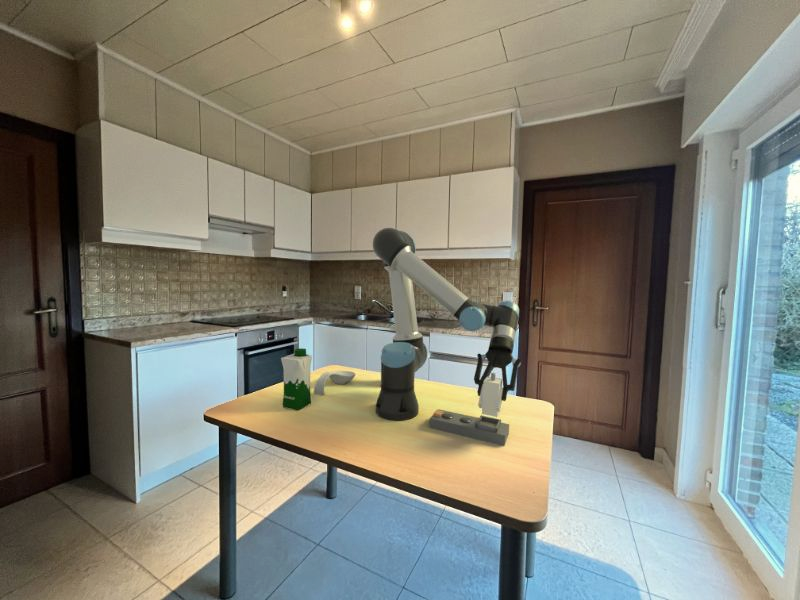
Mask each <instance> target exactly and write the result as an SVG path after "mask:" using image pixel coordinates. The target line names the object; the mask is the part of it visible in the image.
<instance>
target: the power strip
mask: <svg viewBox="0 0 800 600" xmlns="http://www.w3.org/2000/svg"><path fill="white" fill-rule="evenodd" d="M429 428H430V429H434V430H439V431H443V432H447V433H451V434H455V435H459V436H463V437H467V438H473V439H476V440H479V441H483V442H488V443H492V444H496V445H500V446H505V445H506V443H507V439H508V437H509V434H510V423H505V422H502V419H501V418H500V419H499V418H497V417H492V416H491V417H490V416H487V415H486V416H485V415H483V414H481V415H480V416H479V417H476V416H472V415H466V414H463V413H458V412H453V411H449V410H443V409H436V410H435V411H434V412H433V413H432V415H431V417H429Z"/></svg>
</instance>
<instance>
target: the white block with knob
mask: <svg viewBox="0 0 800 600" xmlns="http://www.w3.org/2000/svg"><path fill="white" fill-rule="evenodd" d="M500 387H502V388H503V379H502V378H500V377H499V378H497V377H496V373H495V372H491V373H490V376H489V377H486V379H485V380H484V383H483V402H482V408H481V415H484V416H485V415H486V416H489V417H490V416H491V417H493V418H498V417H499V414H500V412H497V402H498V397H499V392H500Z"/></svg>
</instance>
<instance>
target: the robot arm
mask: <svg viewBox="0 0 800 600" xmlns="http://www.w3.org/2000/svg"><path fill="white" fill-rule="evenodd" d="M410 235H411V234H408V233H407V232H405V231H402V230H398V229H396V228H393V227H385V228H382V229H380V230H378V232H376V234H374V237H373V239H372V249H373V252H374V253H375V255H376V256H377V257H378V258H379V259H380V260H381V261H382V262H383V268H384V269H385V270H386V271H387V272H388V277H389V287H390V295H391V300H392V301H391V302H392V303H391V304H392V311H393V319H394V320H393V321H394V329H395V334H394V336H393V337H392V342H390V343H388V344H386V345H384V346H383V347H382V350H381V354H380V390H379V393H378V397H377V400H376V402H375V410H374V411H375V414H376V415H377V416H379V417H380V418H382V419H385V420H390V421H406V420H410V419H412V418H415V417H416V416H418V415H419V410H420V409H419V408H420V407H419V402H418V399H417V395H416V392H415V373H416V372H417V371H419V369H421V368H422V367H423V366H424V365H425V363H426V361H427V359H428V348H427V346H426V344H425V342H424V336H423V334H422V333H421V332H420V331H419V329H418V328H419V327H418V319H417V310H416V303H415V302H416V301H415V294H414V293H415V291H414V284H415V285H416V286H417V287H419V289H421V290H422V291H423V292H424V293H425V294H427V295H428V296H429V297H431V299H433V300H434V301H435V302H436V303H437V304H439V305H440V306H441V307H442V308H443V309H445V310H446V311H447V312H449V314H450V315H452V317H454V318H455V319H456V320H458V321H459V323H460V326H461V327H462V328H463V329H464V330H466V331H469V332H475V331H479V330H480V329H481V328H483V327H484V326H485V327H489V328H490V327H491V328H492V332H491V336H490V341H489V345H488V349H487V352H485V354H481V353H479V352H478V353H477V354H476V355H477V365H476V368H475V372H474V376H473V381H474V384H475V385H478V388H477V392H476V393H477V396H478V397H479V400H478V404H477V405H478V407H479V409H482V402H483V383H484V380H485V379H486V377H490V376H491V373H492V371H493V370H494V368H499V369H501V377H502V378H501V379H502V387H500V392H499V397H498V402H497V412H499V413H500V412H501V410H502V409H501V408H502V405H503V403H502V402H506V400H507V396H508V392H510V391H512V392H513V391H515V389H516V383H517V377H518V372H519V369H520V367H521V365H522V364H521V359H519V358H514V356H513V351H514V348H515V347H514V346H515V345H514V344H515V341H516V333H517V328H518V323H519V318H520V308H519V307H520V306H518V304H516V303H515V302H513V301H510V300H504V301H501V302H500V303H498V305H493V304H492V305H491V304H485V303H481V302H477V301H473V300H472V299H470V298H469V297H468V296H466V295H465V294H464V293H463V292H462V291H460V290H459V289H458V288H457V287H455V286H454V285H453V284H452V283H450V281H448V280H447V279H446V278H444V276H442V275H441V274H439V273H438V272H437V271H436V270H435V269H434V268H432V267H431V266H430V265H429V264H428V263H426V262H425V261H424V260H423V259H422V258H420V256H418V255H416V248H417V246H416V243H415V241H414V238H412V237H411V236H410ZM486 360H487V365H486V368H485V369H484V372H483V373H482V369H483V364H484V362H485V361H486ZM511 363H512V371H511V376H510V381H509V382H510V383H509V384H508V375H507V367H508V366H509V365H510V364H511ZM481 373H482V375H481Z"/></svg>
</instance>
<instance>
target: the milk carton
mask: <svg viewBox="0 0 800 600" xmlns="http://www.w3.org/2000/svg"><path fill="white" fill-rule="evenodd" d="M312 358H313V355H311V354H307V349H306V348H295V349H294V353H291V354H289V355H288V354H287V355H286V356H284V357H280V360H281V364H282V368H283V397H282V398H283V399H282V408H285V409H290V410H294V411H300V410H302V409H303V408H305V407H307V406H309V405H311V404H312V399H311V397H312V396H311V395H312V394H311V365H312Z"/></svg>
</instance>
